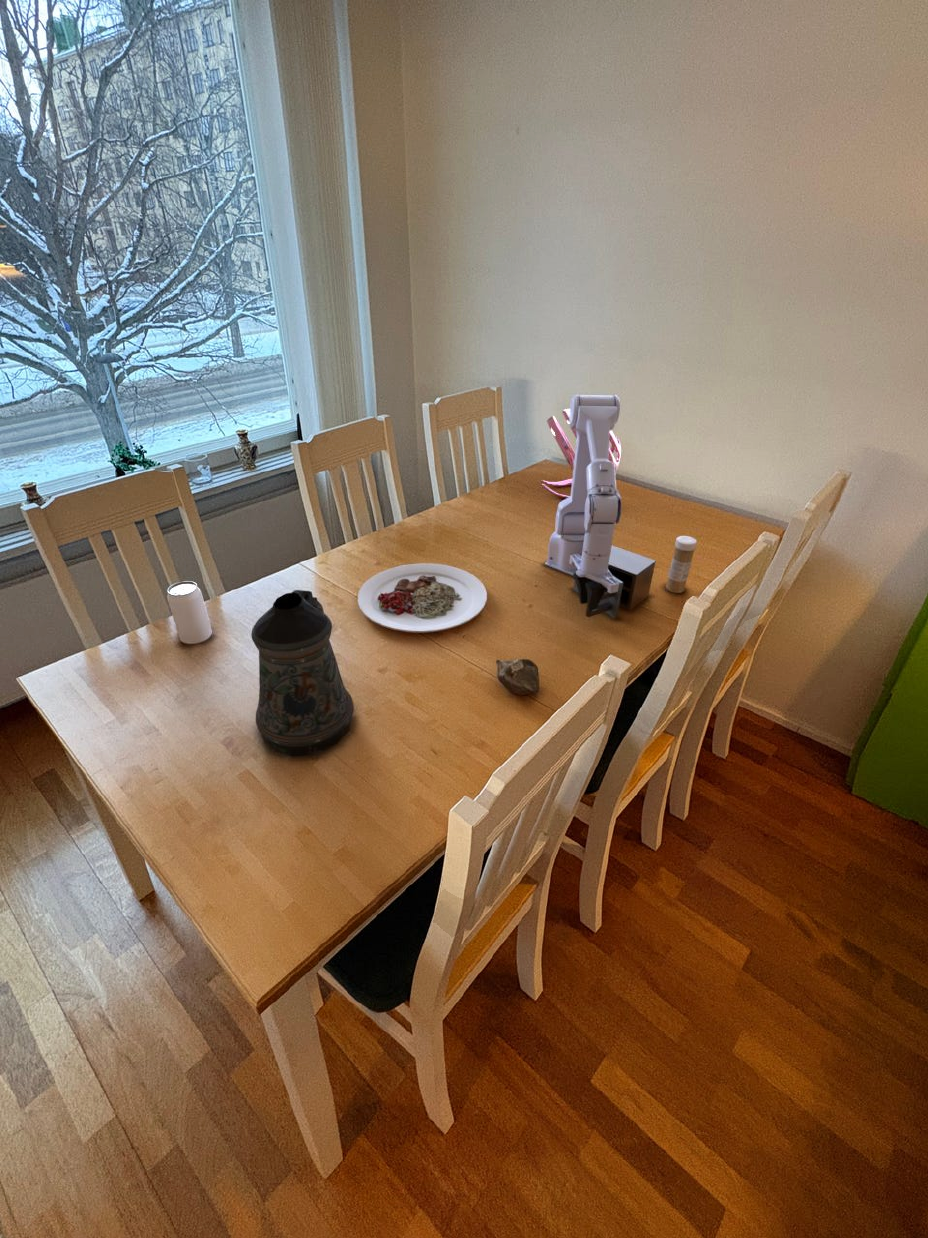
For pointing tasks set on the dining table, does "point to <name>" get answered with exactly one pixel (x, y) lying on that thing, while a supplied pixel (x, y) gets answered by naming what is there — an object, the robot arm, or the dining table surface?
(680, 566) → the sprinkles bottle
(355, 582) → the dining table surface
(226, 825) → the dining table surface
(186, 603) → the can
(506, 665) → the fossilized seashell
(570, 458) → the spiral basket
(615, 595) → the cupboard door
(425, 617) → the plated food
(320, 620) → the beer stein
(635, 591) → the cupboard
